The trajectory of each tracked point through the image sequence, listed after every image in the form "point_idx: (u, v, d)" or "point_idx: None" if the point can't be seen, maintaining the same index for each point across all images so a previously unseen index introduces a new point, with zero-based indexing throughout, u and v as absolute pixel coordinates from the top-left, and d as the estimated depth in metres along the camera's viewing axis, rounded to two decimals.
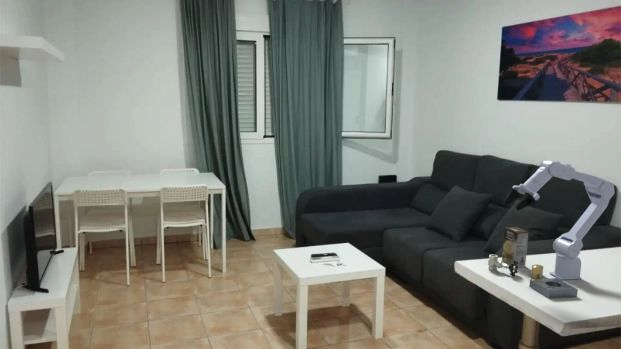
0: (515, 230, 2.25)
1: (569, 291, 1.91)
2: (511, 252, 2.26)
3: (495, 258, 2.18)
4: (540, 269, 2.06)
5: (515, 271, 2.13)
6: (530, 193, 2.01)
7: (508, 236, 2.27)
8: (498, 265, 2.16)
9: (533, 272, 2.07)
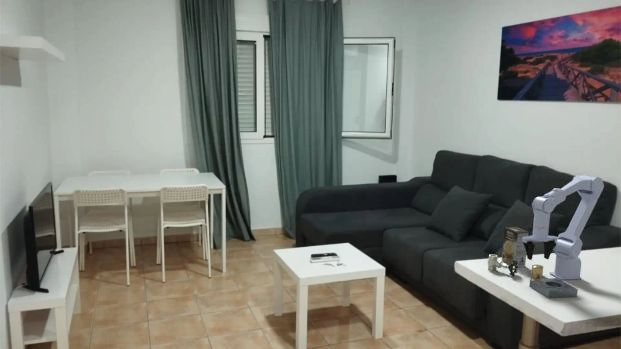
0: (515, 230, 2.25)
1: (569, 291, 1.91)
2: (511, 252, 2.26)
3: (495, 258, 2.18)
4: (540, 269, 2.06)
5: (515, 271, 2.14)
6: None
7: (508, 236, 2.27)
8: (498, 265, 2.17)
9: (533, 272, 2.07)
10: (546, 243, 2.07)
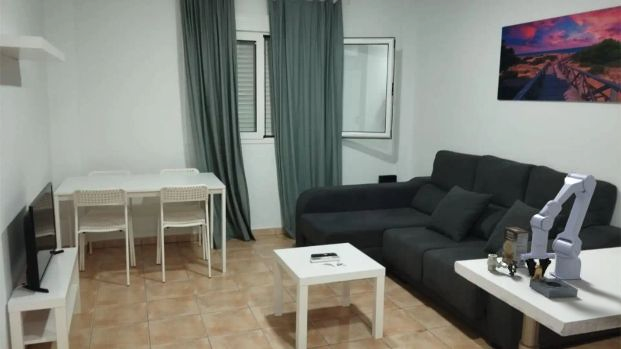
0: (515, 230, 2.25)
1: (569, 291, 1.91)
2: (511, 252, 2.26)
3: (494, 258, 2.18)
4: (540, 269, 2.06)
5: (514, 271, 2.14)
6: None
7: (508, 236, 2.27)
8: (497, 265, 2.17)
9: None
10: (541, 260, 2.08)
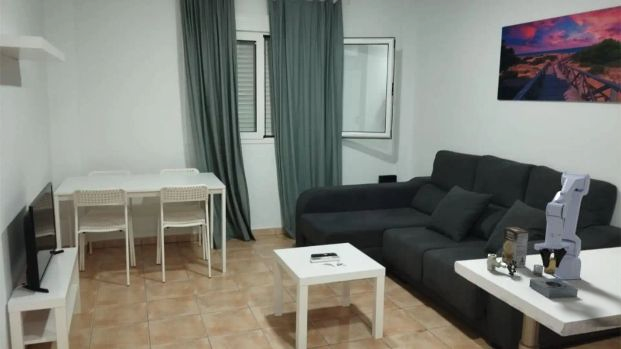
0: (515, 230, 2.25)
1: (569, 291, 1.91)
2: (511, 252, 2.26)
3: (494, 258, 2.18)
4: (554, 261, 1.96)
5: (514, 271, 2.14)
6: None
7: (508, 236, 2.27)
8: (497, 265, 2.17)
9: None
10: (556, 251, 1.98)
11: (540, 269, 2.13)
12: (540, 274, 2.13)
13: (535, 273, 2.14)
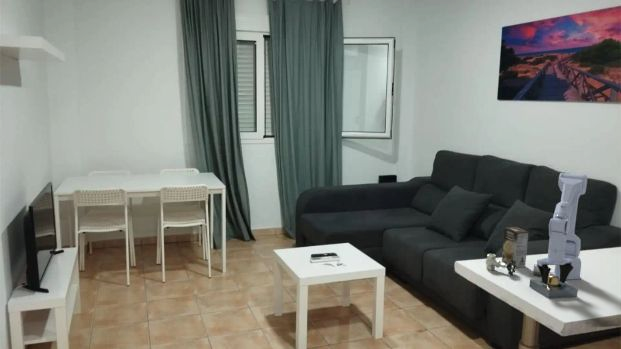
0: (515, 230, 2.25)
1: (569, 291, 1.91)
2: (511, 252, 2.26)
3: (493, 257, 2.18)
4: (556, 279, 1.94)
5: (513, 270, 2.14)
6: None
7: (508, 236, 2.27)
8: (496, 264, 2.17)
9: (549, 282, 1.95)
10: (562, 266, 1.96)
11: None
12: (540, 274, 2.13)
13: (535, 273, 2.14)
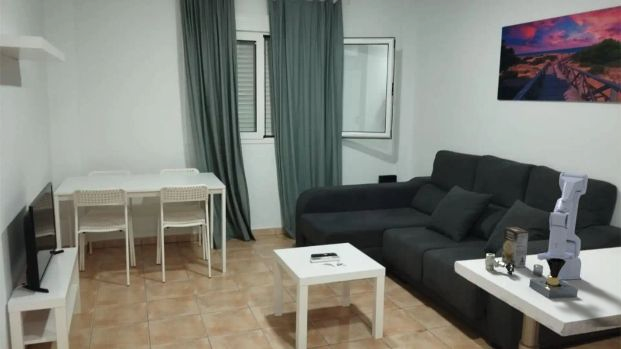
0: (515, 230, 2.25)
1: (569, 291, 1.91)
2: (511, 252, 2.26)
3: (492, 257, 2.19)
4: (556, 279, 1.94)
5: (512, 270, 2.15)
6: None
7: (508, 236, 2.27)
8: (495, 264, 2.17)
9: (549, 282, 1.95)
10: None
11: (541, 269, 2.13)
12: (541, 274, 2.13)
13: (536, 273, 2.13)
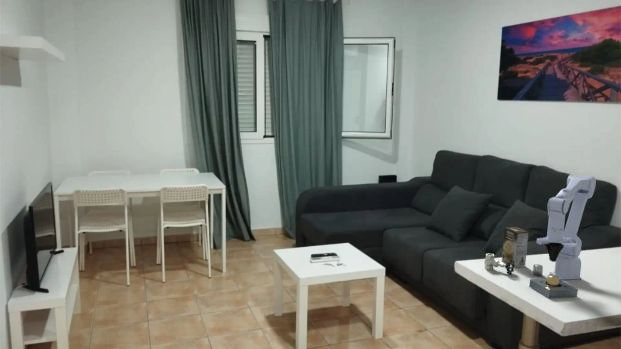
0: (515, 230, 2.25)
1: (569, 291, 1.91)
2: (511, 252, 2.26)
3: (492, 257, 2.19)
4: (556, 279, 1.94)
5: (512, 270, 2.15)
6: None
7: (508, 236, 2.27)
8: (495, 264, 2.18)
9: (549, 282, 1.95)
10: None
11: (541, 269, 2.13)
12: (541, 273, 2.13)
13: (537, 273, 2.13)
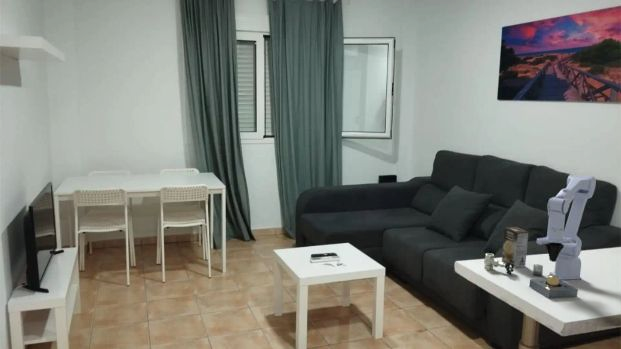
0: (515, 230, 2.25)
1: (569, 291, 1.91)
2: (511, 252, 2.26)
3: (491, 257, 2.19)
4: (556, 279, 1.94)
5: (511, 270, 2.15)
6: None
7: (508, 236, 2.27)
8: (494, 264, 2.18)
9: (549, 282, 1.95)
10: None
11: (541, 268, 2.13)
12: (541, 273, 2.14)
13: (537, 273, 2.13)
